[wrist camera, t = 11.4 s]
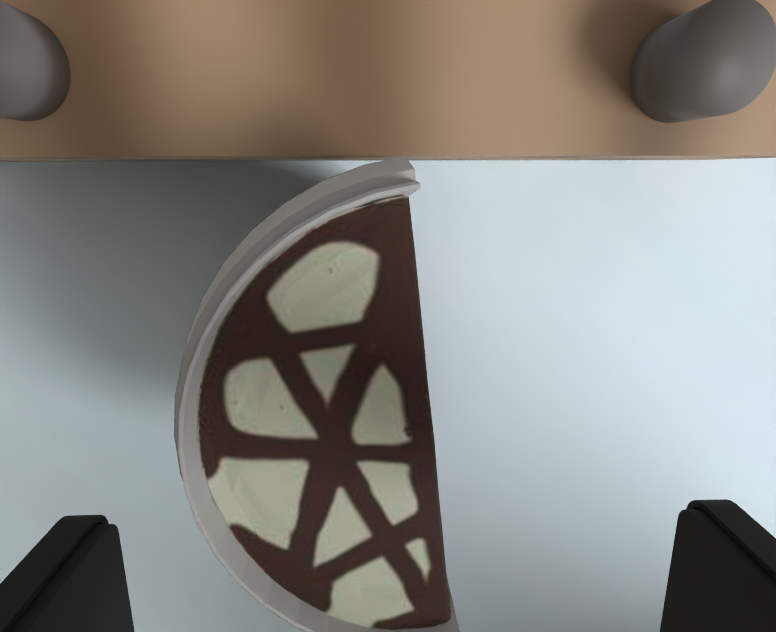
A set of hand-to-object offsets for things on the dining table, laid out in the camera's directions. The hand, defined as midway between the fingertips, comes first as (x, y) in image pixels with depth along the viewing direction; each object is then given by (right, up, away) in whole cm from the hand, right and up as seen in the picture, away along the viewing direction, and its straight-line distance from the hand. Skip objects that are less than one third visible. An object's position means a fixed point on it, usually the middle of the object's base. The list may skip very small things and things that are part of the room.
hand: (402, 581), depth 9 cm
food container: (-3, +4, +12) cm, 13 cm away
